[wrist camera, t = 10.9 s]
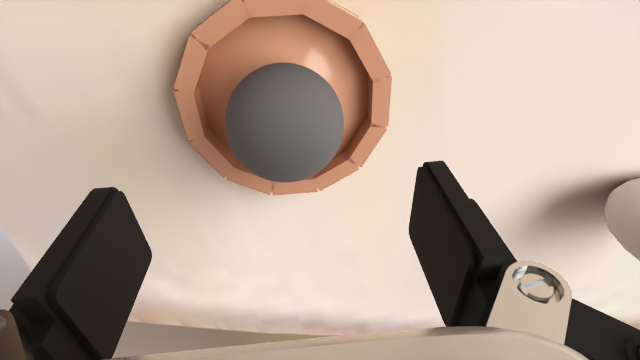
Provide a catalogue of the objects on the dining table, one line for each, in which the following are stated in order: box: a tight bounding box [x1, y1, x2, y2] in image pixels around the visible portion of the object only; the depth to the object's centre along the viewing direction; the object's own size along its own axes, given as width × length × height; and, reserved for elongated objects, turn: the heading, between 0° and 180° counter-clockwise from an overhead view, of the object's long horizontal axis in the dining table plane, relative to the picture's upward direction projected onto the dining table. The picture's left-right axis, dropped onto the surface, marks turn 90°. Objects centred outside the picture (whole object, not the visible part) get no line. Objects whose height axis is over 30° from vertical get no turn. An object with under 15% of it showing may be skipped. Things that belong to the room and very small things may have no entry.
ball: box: [225, 63, 344, 183], centre depth 18 cm, size 6×6×6 cm
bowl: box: [174, 0, 392, 195], centre depth 20 cm, size 12×12×2 cm
